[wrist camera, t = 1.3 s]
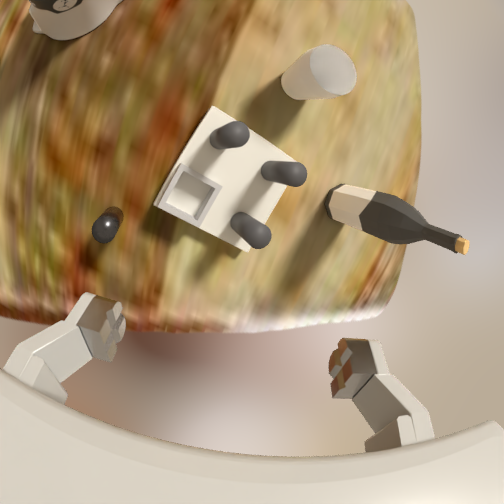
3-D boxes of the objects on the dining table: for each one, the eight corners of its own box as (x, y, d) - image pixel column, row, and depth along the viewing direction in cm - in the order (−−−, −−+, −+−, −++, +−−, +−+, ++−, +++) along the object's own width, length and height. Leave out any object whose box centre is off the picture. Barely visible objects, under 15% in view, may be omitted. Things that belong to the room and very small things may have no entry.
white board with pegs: (153, 202, 42) (152, 216, 32) (209, 108, 40) (226, 92, 30) (243, 248, 50) (267, 272, 40) (293, 163, 48) (329, 166, 38)
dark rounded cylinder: (100, 210, 40) (88, 222, 32) (119, 203, 41) (110, 214, 33) (107, 230, 41) (97, 246, 33) (126, 223, 42) (119, 238, 34)
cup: (298, 115, 45) (337, 107, 35) (264, 81, 41) (297, 62, 31) (325, 87, 45) (365, 76, 34) (294, 54, 41) (330, 34, 30)
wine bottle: (339, 229, 56) (457, 286, 30) (317, 204, 53) (447, 254, 26) (360, 201, 56) (481, 242, 29) (340, 175, 52) (472, 205, 26)
